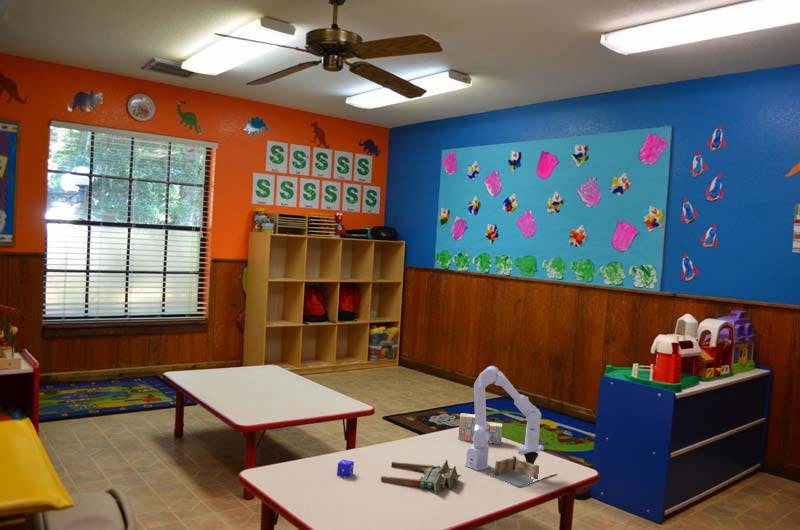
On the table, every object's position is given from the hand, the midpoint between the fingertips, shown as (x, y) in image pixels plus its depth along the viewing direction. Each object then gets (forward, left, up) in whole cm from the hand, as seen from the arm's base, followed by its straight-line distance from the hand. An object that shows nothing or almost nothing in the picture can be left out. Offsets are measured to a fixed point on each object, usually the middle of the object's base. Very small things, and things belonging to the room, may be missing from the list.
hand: (529, 468), depth 261 cm
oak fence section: (-2, 0, -2) cm, 3 cm away
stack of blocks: (+20, +43, -3) cm, 47 cm away
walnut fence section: (-7, +7, -2) cm, 11 cm away
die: (-67, +42, -3) cm, 80 cm away
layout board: (-1, +2, -3) cm, 4 cm away
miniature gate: (-44, +22, -4) cm, 49 cm away
